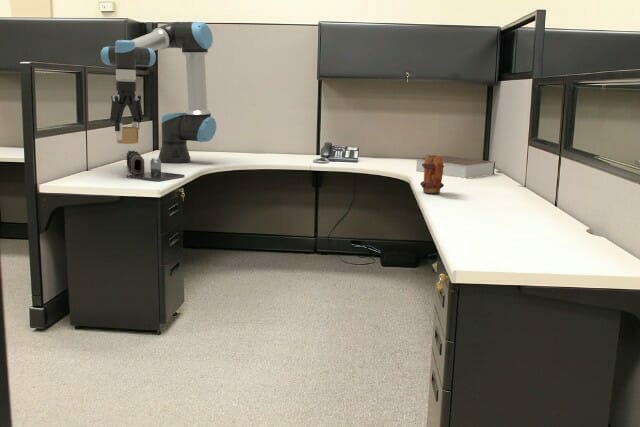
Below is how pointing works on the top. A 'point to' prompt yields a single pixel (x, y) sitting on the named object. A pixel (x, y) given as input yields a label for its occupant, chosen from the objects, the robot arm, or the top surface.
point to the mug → (432, 174)
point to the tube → (135, 162)
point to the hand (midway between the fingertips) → (127, 138)
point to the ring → (129, 135)
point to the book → (462, 167)
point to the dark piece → (155, 173)
